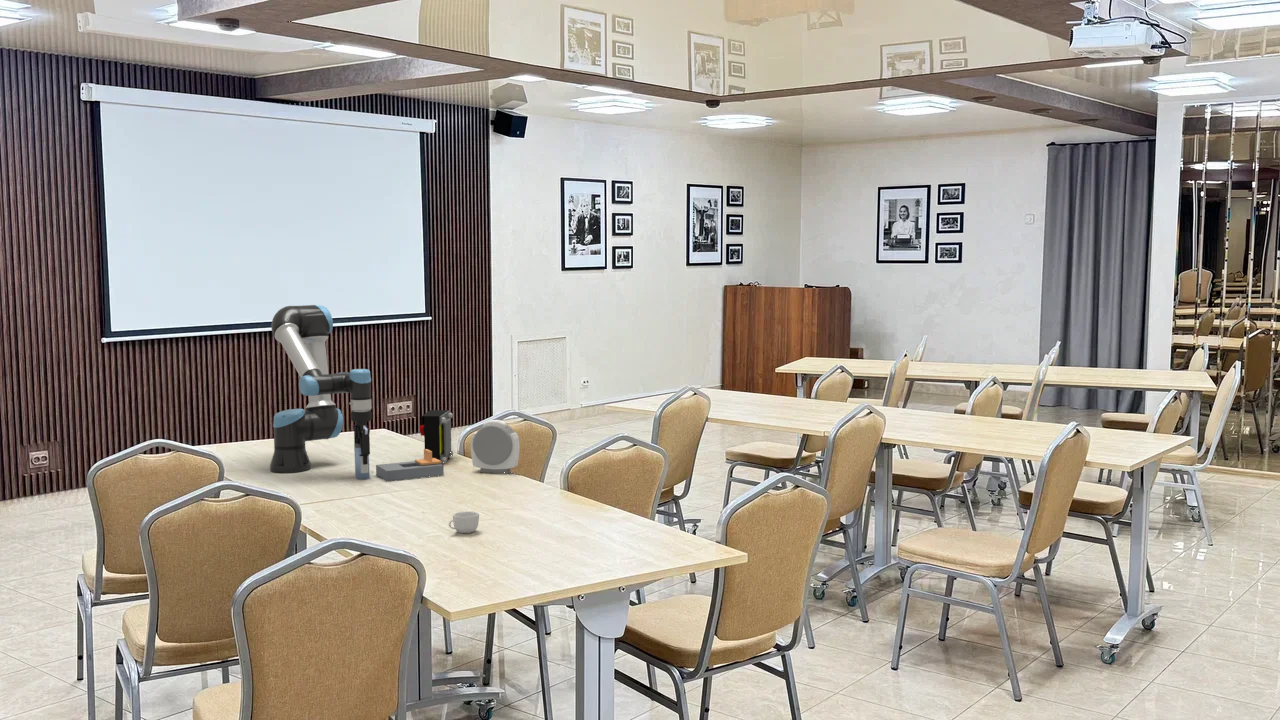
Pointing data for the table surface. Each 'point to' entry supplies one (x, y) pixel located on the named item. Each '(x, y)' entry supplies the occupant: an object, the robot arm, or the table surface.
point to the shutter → (428, 459)
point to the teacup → (465, 521)
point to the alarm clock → (495, 447)
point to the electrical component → (437, 433)
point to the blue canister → (359, 463)
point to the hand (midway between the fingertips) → (362, 471)
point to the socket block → (407, 470)
